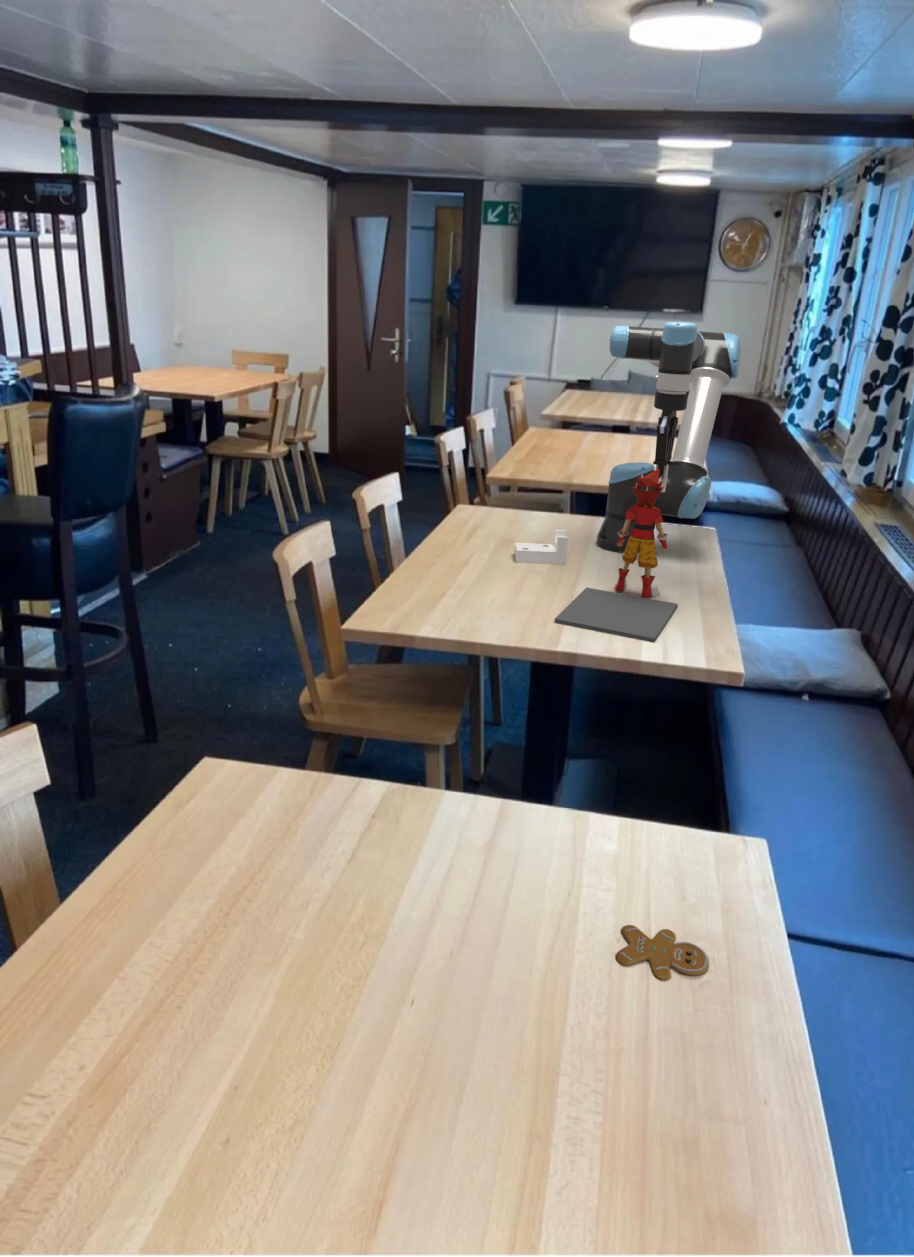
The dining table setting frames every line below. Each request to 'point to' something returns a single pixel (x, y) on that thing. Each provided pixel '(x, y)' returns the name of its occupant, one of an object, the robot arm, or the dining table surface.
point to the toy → (643, 533)
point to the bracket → (543, 551)
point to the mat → (618, 614)
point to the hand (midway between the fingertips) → (659, 490)
